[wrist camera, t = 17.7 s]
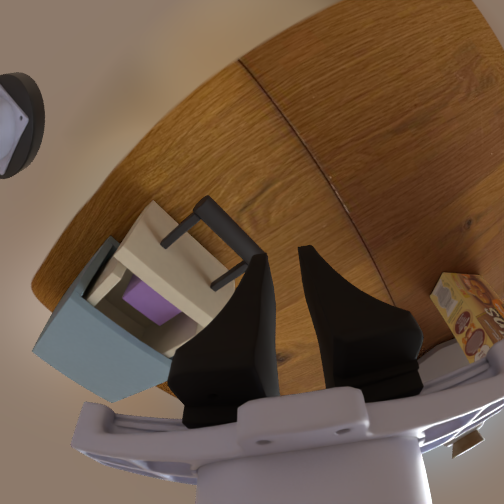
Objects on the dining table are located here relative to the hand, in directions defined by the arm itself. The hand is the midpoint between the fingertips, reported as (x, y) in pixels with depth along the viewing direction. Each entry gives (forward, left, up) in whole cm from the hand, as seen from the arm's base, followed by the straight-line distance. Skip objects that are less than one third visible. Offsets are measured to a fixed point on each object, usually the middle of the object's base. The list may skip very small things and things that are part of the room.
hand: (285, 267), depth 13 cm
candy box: (+25, +12, -11) cm, 30 cm away
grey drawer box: (-1, -20, -10) cm, 23 cm away
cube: (-1, -11, -8) cm, 14 cm away
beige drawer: (-1, -11, -10) cm, 15 cm away
